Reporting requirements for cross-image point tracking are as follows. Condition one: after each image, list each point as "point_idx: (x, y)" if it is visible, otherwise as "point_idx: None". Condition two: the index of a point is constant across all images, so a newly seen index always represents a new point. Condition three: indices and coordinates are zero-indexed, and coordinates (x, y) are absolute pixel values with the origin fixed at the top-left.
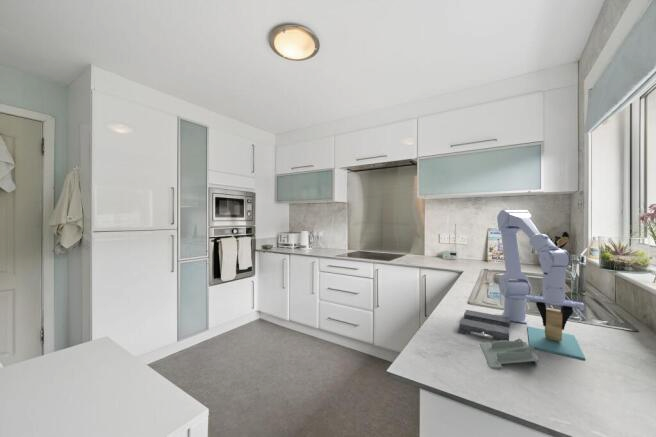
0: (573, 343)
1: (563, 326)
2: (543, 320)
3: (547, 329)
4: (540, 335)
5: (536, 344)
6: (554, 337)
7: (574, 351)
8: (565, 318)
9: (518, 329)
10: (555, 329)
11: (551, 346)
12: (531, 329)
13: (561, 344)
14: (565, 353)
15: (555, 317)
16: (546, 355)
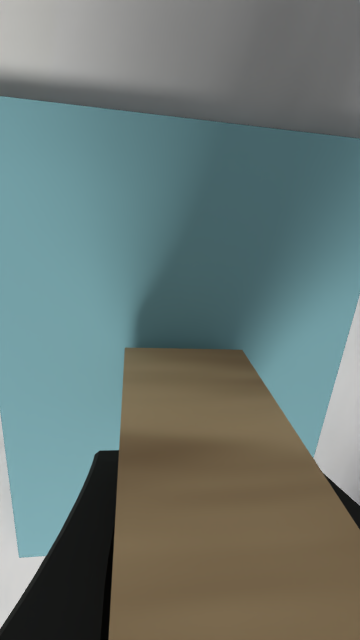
0: (35, 407)
1: (97, 479)
2: (346, 500)
3: (262, 400)
4: None
5: (332, 213)
6: (183, 359)
7: (43, 224)
8: (43, 636)
9: (350, 475)
10: (188, 414)
11: (216, 237)
12: None
13: (127, 333)
14: (127, 116)
15: (236, 590)
16: (295, 16)
